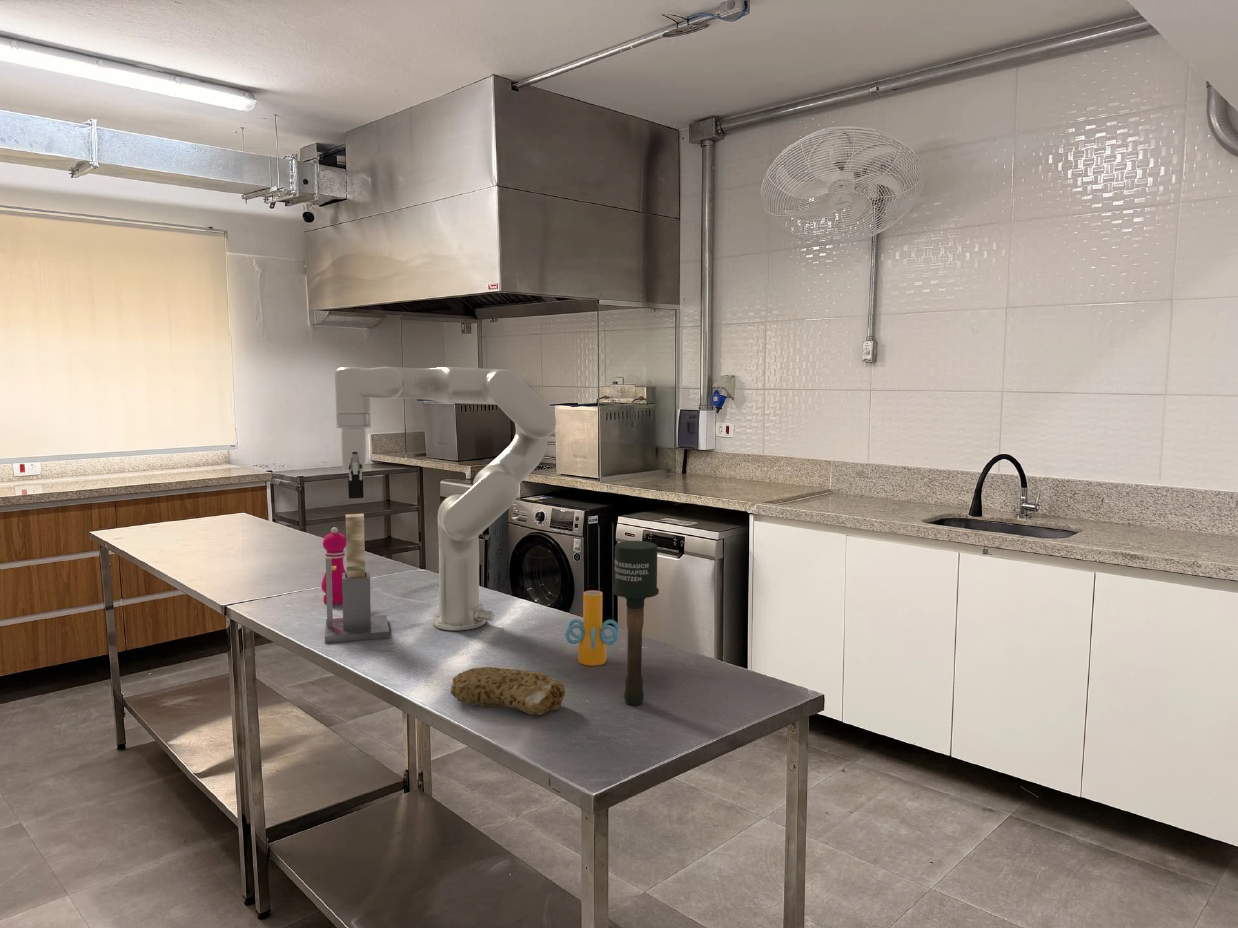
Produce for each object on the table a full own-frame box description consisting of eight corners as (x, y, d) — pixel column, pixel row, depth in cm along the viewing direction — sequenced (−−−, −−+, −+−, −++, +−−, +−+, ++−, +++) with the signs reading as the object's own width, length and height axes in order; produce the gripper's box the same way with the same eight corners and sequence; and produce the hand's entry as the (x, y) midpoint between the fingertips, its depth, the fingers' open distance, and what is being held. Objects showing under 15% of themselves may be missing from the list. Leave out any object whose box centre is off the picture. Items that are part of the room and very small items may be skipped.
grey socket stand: (386, 620, 204) (385, 548, 202) (389, 637, 190) (388, 561, 188) (326, 625, 199) (324, 551, 197) (324, 643, 186) (322, 564, 184)
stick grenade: (601, 701, 154) (603, 544, 151) (633, 690, 160) (636, 538, 157) (633, 715, 148) (636, 551, 145) (666, 702, 154) (669, 544, 151)
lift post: (365, 596, 196) (363, 513, 194) (365, 601, 193) (364, 516, 191) (347, 597, 195) (345, 514, 193) (347, 602, 191) (345, 517, 189)
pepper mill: (354, 598, 223) (353, 525, 221) (343, 605, 216) (341, 530, 214) (329, 597, 224) (327, 524, 222) (316, 604, 217) (314, 529, 215)
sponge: (569, 710, 154) (488, 668, 164) (571, 675, 151) (489, 634, 161) (523, 747, 143) (440, 700, 153) (525, 711, 141) (440, 665, 150)
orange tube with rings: (629, 659, 178) (630, 591, 176) (604, 674, 169) (604, 602, 167) (581, 649, 184) (582, 583, 182) (554, 663, 175) (555, 594, 173)
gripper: (336, 419, 197) (339, 490, 198) (335, 423, 180) (338, 501, 182) (369, 419, 199) (371, 489, 201) (371, 423, 183) (373, 499, 184)
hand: (356, 495), depth 191 cm, fingers open, 9 cm apart
